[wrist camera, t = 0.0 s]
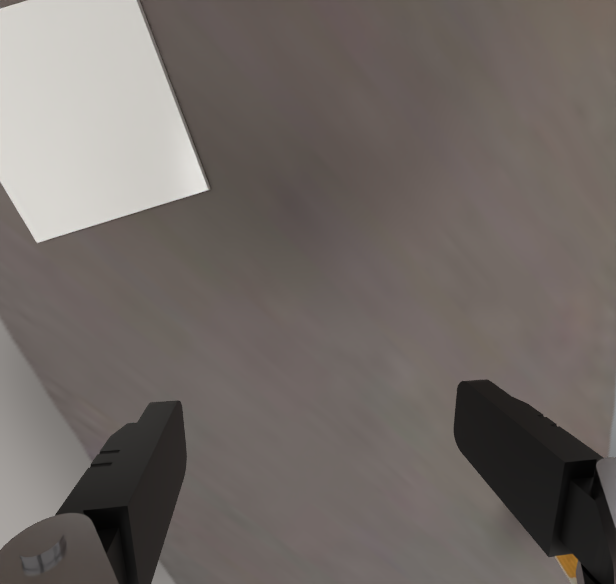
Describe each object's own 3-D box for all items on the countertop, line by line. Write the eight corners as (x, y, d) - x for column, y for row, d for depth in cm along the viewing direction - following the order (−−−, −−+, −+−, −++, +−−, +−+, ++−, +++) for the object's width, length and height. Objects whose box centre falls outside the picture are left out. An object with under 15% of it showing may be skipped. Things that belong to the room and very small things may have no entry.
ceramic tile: (-71, 40, 23) (-88, 34, 22) (132, -20, 23) (125, -29, 22) (45, 239, 28) (36, 242, 27) (210, 189, 28) (208, 190, 27)
